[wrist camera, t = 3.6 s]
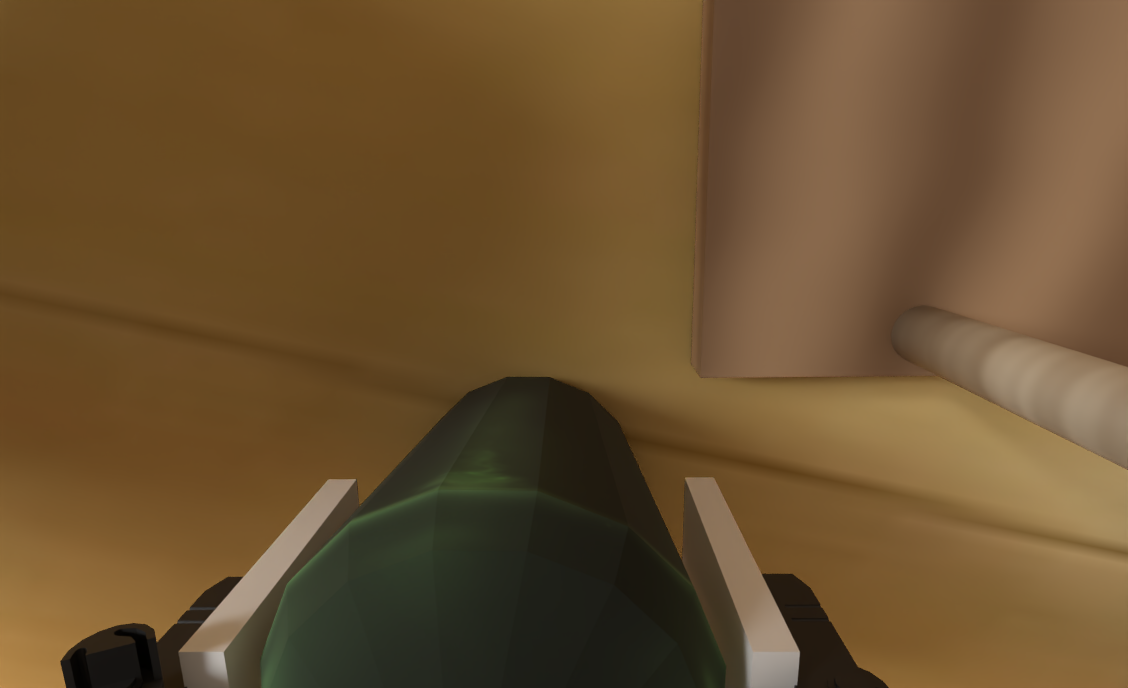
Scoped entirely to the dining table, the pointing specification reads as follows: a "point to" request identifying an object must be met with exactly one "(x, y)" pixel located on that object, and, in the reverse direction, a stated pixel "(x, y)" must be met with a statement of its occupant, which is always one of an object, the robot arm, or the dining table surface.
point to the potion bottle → (500, 564)
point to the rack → (920, 200)
